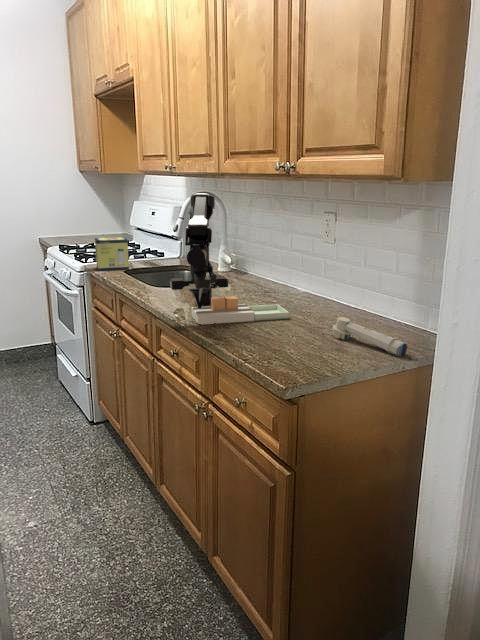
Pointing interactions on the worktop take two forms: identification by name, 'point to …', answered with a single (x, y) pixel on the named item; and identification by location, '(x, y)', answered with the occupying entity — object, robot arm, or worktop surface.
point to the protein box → (112, 254)
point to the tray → (269, 312)
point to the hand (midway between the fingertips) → (199, 308)
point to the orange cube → (231, 302)
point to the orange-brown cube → (217, 303)
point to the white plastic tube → (368, 336)
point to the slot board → (222, 315)
